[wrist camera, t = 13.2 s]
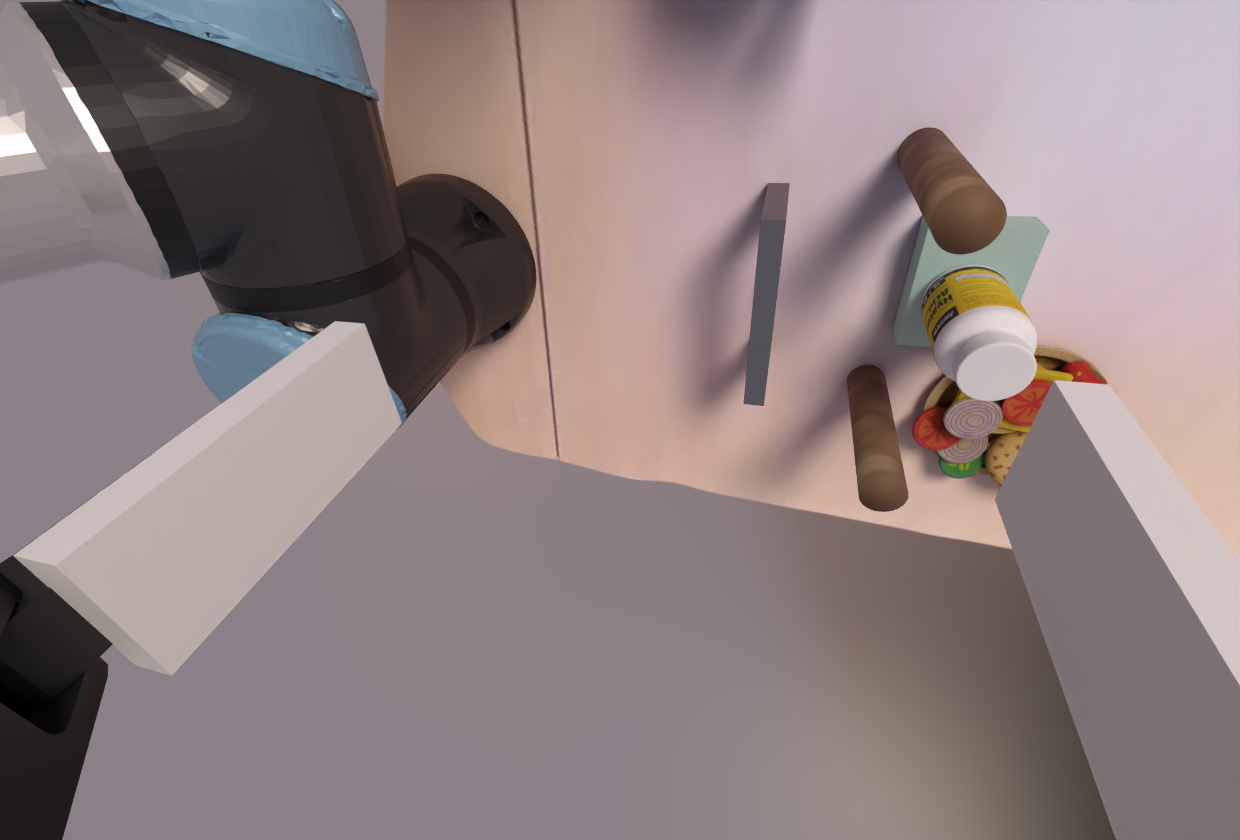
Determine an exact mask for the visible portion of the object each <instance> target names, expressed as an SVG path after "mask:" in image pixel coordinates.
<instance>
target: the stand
mask: <svg viewBox="0 0 1240 840" xmlns="http://www.w3.org/2000/svg"><path fill="white" fill-rule="evenodd" d="M1048 232H1049V229H1048V228H1047V227H1046V226H1045V225H1044V224H1043V223H1042V222H1041V220H1040V219H1039V218H1038V217H1006V222H1005V225H1004V228H1003V230H1002V231H1001V233H1000V234H999V236H998V237H997V238H996V239H995V240H994V241H993V242H992V243H991V244H989V245H988V246H987V247H985V248H983V249H981V250H979V251H977V252H974V253H970V254H964V255H958V254H952V253H948V252H946V251H944V250H943V249H941V248H940V247H939V246H938V245H937V243H936V242H935V240H934V238H933V236H932V233H931V231H930V229H929V227H928V225H927V223H926V221H925V219H924V217H922V220H921V224H920V228H919V232H918V235H917V239H916V243H915V247H914V250H913V254H912V258H911V262H910V265H909V269H908V273H907V277H906V280H905V284H904V288H903V292H902V295H901V299H900V303H899V307H898V310H897V314H896V318H895V322H894V325H893V334H894V338H895V342H896V345H904V346H918V347H931V344H930V341H929V338H928V334H927V331H926V328H925V325H924V321H923V318H922V314H921V300H922V297H923V294H924V292H925V290H926V289H927V287H928V286H929V285H930V283H931V282H932V281H933V280H934V279H935V278H936V277H938V276H939V275H941V274H942V273H944V272H945V271H947V270H950V269H952V268H955V267H958V266H962V265H970V264H979V265H985V266H988V267H991V268H993V269H995V270H996V271H998V272H999V273H1000V274H1002V276H1003V277H1004V278H1005V279H1006V280H1007V282H1008V284H1009V285H1010V287H1011V288H1012V290H1013V292H1014V293H1015V295H1016V297H1017V298H1018V300H1019V301H1021V299H1022V296H1023V294H1024V291H1025V289H1026V286H1027V284H1028V281H1029V279H1030V276H1031V274H1032V272H1033V269H1034V267H1035V264H1036V262H1037V259H1038V257H1039V254H1040V252H1041V250H1042V247H1043V245H1044V242H1045V240H1046V237H1047V235H1048Z"/></svg>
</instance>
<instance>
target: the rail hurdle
mask: <svg viewBox="0 0 1240 840" xmlns="http://www.w3.org/2000/svg"><path fill="white" fill-rule="evenodd" d="M788 194H789V183H768V185H767V191H766V196H765V201H764V206H763V211H762V216H761V222H760V233H759V244H758V255H757V265H756V276H755V287H754V298H753V308H752V319H751V330H750V341H749V351H748V362H747V373H746V384H745V394H744V404H750V405H760V406H764V399H765V391H766V382H767V374H768V366H769V358H770V349H771V341H772V333H773V324H774V316H775V308H776V299H777V291H778V283H779V274H780V266H781V258H782V249H783V241H784V233H785V224H786V215H787V204H788Z"/></svg>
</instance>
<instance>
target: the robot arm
mask: <svg viewBox="0 0 1240 840" xmlns="http://www.w3.org/2000/svg"><path fill="white" fill-rule="evenodd" d="M378 100H379V98H378V94H377V92H376V90H375V89H374V88H373V87H372V85H371V82H370V79H369V76H368V73H367V69H366V66H365V62H364V59H363V55H362V52H361V49H360V45H359V42H358V38H357V35H356V31H355V29H354V26H353V24H352V22H351V20H350V19H349V17H348V15H347V14H346V13H345V11H344V10H343V9H342V8H341V7H340V6H339V5H338V4H337V3H336V2H334V1H333V0H62V1H58V2H21V3H19V2H12V3H7V4H6V6H5V8H4V10H3V12H2V14H1V16H0V285H1V284H5V283H9V282H13V281H18V280H22V279H27V278H30V277H35V276H39V275H44V274H48V273H52V272H57V271H61V270H65V269H69V268H74V267H78V266H83V265H86V264H91V263H95V262H100V261H106V262H115V263H119V264H122V265H124V266H127V267H129V268H132V269H134V270H137V271H139V272H142V273H145V274H147V275H149V276H152V277H154V278H157V279H159V280H167V279H172V278H177V277H181V276H184V275H188V274H192V273H196V272H200V274H201V275H202V277H203V279H204V281H205V283H206V285H207V287H208V289H209V291H210V293H211V295H212V297H213V299H214V301H215V303H216V305H217V307H218V310H219V314H217V315H214V316H212V317H210V318H208V319H207V320H206V321H204V322H203V323H202V326H201V329H199V331H198V332H196V334H195V336H194V344H193V346H192V357H193V361H194V364H195V366H196V368H197V371H198V373H199V375H200V376H201V378H202V379H203V381H204V383H205V384H206V385H207V387H208V388H209V389H210V391H211V392H212V393H213V394H214V395H215V397H216V398H217V399H218V400H219V401H220V402H221V403H222V404H221V405H219V406H218V407H217V408H215V409H214V410H212V411H211V412H210V413H208V414H207V415H206V416H204V417H203V418H201V419H200V420H199V421H197V422H196V423H195V424H193V425H192V426H191V427H189V428H188V429H186V430H185V431H184V432H182V433H181V434H179V435H178V436H177V437H175V438H174V439H173V440H171V441H170V442H169V443H167V444H166V445H164V446H163V447H162V448H160V449H159V450H158V451H156V452H155V453H153V454H151V455H150V456H149V457H147V458H146V459H145V460H143V461H142V462H140V463H139V464H138V465H136V466H135V467H133V468H132V469H131V470H129V471H128V472H127V473H126V474H124V475H123V476H122V477H120V478H118V479H117V480H116V481H115V482H113V483H112V484H110V485H109V486H107V487H106V488H105V489H103V491H101V492H100V493H99V494H96V495H95V496H94V497H92V498H91V499H89V500H88V501H87V502H85V503H84V504H83V505H81V506H80V507H79V508H77V509H76V510H74V511H73V512H72V513H70V514H69V515H67V516H66V517H65V518H63V519H62V520H61V521H59V522H58V523H56V524H55V525H54V526H52V527H51V528H50V529H48V530H47V531H45V532H44V533H43V534H41V535H40V536H39V537H37V538H36V539H34V540H33V541H32V542H31V543H29V544H28V545H26V546H25V547H23V548H22V549H21V550H19V551H18V552H17V553H15V554H14V555H13V556H11V557H9V558H8V559H6V560H5V561H3V562H2V563H0V840H62V838H63V835H64V831H65V828H66V824H67V820H68V817H69V813H70V810H71V806H72V802H73V798H74V795H75V792H76V788H77V785H78V781H79V777H80V774H81V770H82V767H83V763H84V760H85V756H86V752H87V749H88V745H89V741H90V738H91V735H92V731H93V727H94V724H95V720H96V716H97V713H98V709H99V706H100V702H101V699H102V695H103V692H104V688H105V684H106V681H107V677H108V664H107V663H106V662H105V661H104V660H103V659H102V658H101V657H100V656H101V655H102V654H103V653H104V652H105V651H106V650H107V649H108V648H109V647H110V646H111V645H113V646H114V647H116V648H117V649H118V650H119V651H120V652H121V653H123V655H124V656H126V657H127V658H128V659H129V660H130V661H131V662H132V663H133V664H135V665H137V666H140V667H144V668H147V669H151V670H154V671H158V672H161V673H165V674H168V675H173V674H174V673H175V671H176V670H177V669H178V668H179V667H180V666H181V665H182V664H183V663H184V662H185V660H186V659H187V658H188V657H189V656H190V655H191V653H192V652H194V650H195V649H196V648H197V647H198V646H199V645H200V644H201V643H202V642H203V641H204V639H206V637H207V636H208V635H209V634H210V633H211V632H212V631H213V630H214V628H216V626H217V625H218V624H219V623H220V622H221V621H222V620H223V619H224V618H225V617H226V615H227V614H228V613H229V612H230V611H231V610H232V609H233V608H234V607H235V606H236V604H237V603H238V602H239V601H240V600H241V599H242V598H243V597H244V596H245V594H247V592H248V591H249V590H250V589H251V588H252V587H253V586H254V585H255V583H257V581H258V580H259V579H260V578H261V577H262V576H263V574H265V573H266V572H267V570H268V569H269V568H270V567H271V566H272V565H273V564H274V563H275V562H276V561H277V559H278V558H279V557H280V556H281V555H282V554H283V553H284V552H285V551H286V549H288V547H289V546H290V545H291V544H292V543H293V542H294V541H295V540H296V539H297V537H298V536H299V535H300V534H301V533H302V532H303V531H304V530H305V529H306V528H307V527H308V525H309V524H310V523H311V522H312V521H313V520H314V519H315V517H317V516H318V515H319V513H320V512H321V511H322V510H323V509H324V508H325V507H326V506H327V505H328V503H329V502H330V501H331V500H332V499H333V498H334V497H335V496H336V495H337V494H338V493H339V491H340V490H341V489H342V488H343V487H344V486H345V485H346V484H347V483H348V482H349V480H350V479H351V478H352V477H353V476H354V475H355V474H356V473H357V472H358V471H359V469H360V468H361V467H362V466H363V465H364V464H365V463H366V462H367V461H368V460H369V459H370V457H371V456H372V455H373V454H374V453H375V452H376V451H377V450H378V449H379V447H380V446H381V445H382V444H383V443H384V442H385V441H386V440H387V439H388V438H389V436H391V434H392V433H393V432H394V431H395V430H397V429H398V428H399V427H401V426H402V425H403V423H404V422H405V421H406V419H407V418H408V417H409V415H410V414H411V413H412V412H413V411H414V410H415V409H416V407H417V406H418V405H419V404H420V403H421V401H422V400H423V399H424V398H425V397H426V396H427V395H428V394H429V392H430V391H431V390H432V389H433V388H434V387H435V386H436V384H437V383H438V382H439V381H440V380H441V379H442V378H443V376H444V375H445V374H446V373H447V372H448V371H449V370H450V368H451V367H452V366H453V365H454V364H455V363H456V362H457V360H458V359H459V358H460V357H461V356H462V355H463V354H464V353H465V352H468V351H471V350H473V349H476V348H478V347H481V346H484V345H486V344H489V343H492V342H494V341H496V340H498V339H500V338H502V337H504V336H505V335H506V334H508V333H509V332H510V331H511V330H512V329H513V328H514V327H515V326H516V325H517V324H518V323H519V321H520V320H521V319H522V318H523V317H524V315H525V314H526V313H527V311H528V309H529V307H530V305H531V303H532V301H533V297H534V294H535V288H536V268H535V262H534V257H533V254H532V250H531V247H530V245H529V242H528V240H527V238H526V236H525V234H524V232H523V230H522V228H521V227H520V225H519V224H518V222H517V221H516V219H515V218H514V217H513V215H512V214H511V213H510V212H509V211H508V209H507V208H506V207H505V206H504V205H503V204H502V203H501V202H500V201H499V200H497V199H496V198H495V197H494V196H493V195H491V194H490V193H489V192H487V191H486V190H484V189H483V188H481V187H480V186H478V185H476V184H474V183H472V182H470V181H468V180H465V179H462V178H459V177H456V176H452V175H446V174H427V175H422V176H418V177H415V178H413V179H411V180H409V181H407V182H405V183H403V184H401V185H399V186H397V187H396V183H395V179H394V174H393V170H392V166H391V162H390V157H389V153H388V149H387V144H386V140H385V136H384V132H383V127H382V123H381V119H380V115H379V110H378V106H377V102H376V101H378ZM995 501H996V504H997V507H998V509H999V512H1000V515H1001V518H1002V521H1003V523H1004V526H1005V529H1006V532H1007V535H1008V537H1009V540H1010V543H1011V546H1012V549H1013V551H1014V554H1015V557H1016V560H1017V563H1018V565H1019V568H1020V571H1021V574H1022V577H1023V580H1024V582H1025V585H1026V588H1027V591H1028V594H1029V596H1030V599H1031V602H1032V605H1033V608H1034V610H1035V613H1036V616H1037V619H1038V621H1039V624H1040V627H1041V630H1042V633H1043V636H1044V638H1045V641H1046V644H1047V647H1048V650H1049V652H1050V655H1051V658H1052V661H1053V664H1054V667H1055V669H1056V672H1057V675H1058V678H1059V681H1060V683H1061V686H1062V689H1063V692H1064V694H1065V697H1066V700H1067V703H1068V706H1069V709H1070V711H1071V714H1072V717H1073V720H1074V722H1075V725H1076V728H1077V731H1078V734H1079V737H1080V739H1081V742H1082V745H1083V748H1084V751H1085V753H1086V756H1087V759H1088V762H1089V764H1090V767H1091V770H1092V773H1093V776H1094V779H1095V781H1096V784H1097V787H1098V790H1099V792H1100V796H1101V798H1102V801H1103V804H1104V807H1105V809H1106V812H1107V815H1108V818H1109V821H1110V824H1111V826H1112V829H1113V832H1114V835H1115V838H1116V840H1240V562H1239V560H1238V559H1237V558H1236V556H1235V555H1234V554H1233V552H1232V551H1231V549H1230V548H1229V547H1228V545H1227V544H1226V543H1225V541H1224V540H1223V539H1222V537H1221V536H1220V535H1219V533H1218V532H1217V530H1216V529H1215V528H1214V526H1213V525H1212V524H1211V522H1210V521H1209V520H1208V518H1207V517H1206V516H1205V514H1204V513H1203V511H1202V510H1201V509H1200V507H1199V506H1198V505H1197V503H1196V502H1195V501H1194V499H1193V498H1192V497H1191V495H1190V494H1189V492H1188V491H1187V490H1186V488H1185V487H1184V486H1183V484H1182V483H1181V482H1180V480H1179V479H1178V478H1177V476H1176V475H1175V473H1174V472H1173V471H1172V469H1171V468H1170V467H1169V465H1168V464H1167V463H1166V461H1165V460H1164V459H1163V457H1162V456H1161V454H1160V453H1159V452H1158V450H1157V449H1156V448H1155V446H1154V445H1153V444H1152V442H1151V441H1150V440H1149V438H1148V437H1147V435H1146V434H1145V433H1144V431H1143V430H1142V429H1141V427H1140V426H1139V425H1138V423H1137V422H1136V420H1135V419H1134V418H1133V416H1132V415H1131V414H1130V412H1129V411H1128V410H1127V408H1126V407H1125V406H1124V404H1123V403H1122V401H1121V400H1120V399H1119V397H1118V396H1117V395H1116V393H1115V392H1114V391H1113V389H1112V388H1111V387H1110V385H1108V384H1095V383H1083V382H1071V381H1059V380H1054V381H1053V383H1052V385H1051V387H1050V389H1049V391H1048V393H1047V395H1046V397H1045V399H1044V401H1043V403H1042V405H1041V407H1040V409H1039V411H1038V413H1037V415H1036V417H1035V419H1034V422H1033V424H1032V426H1031V428H1030V430H1029V432H1028V434H1027V436H1026V438H1025V440H1024V442H1023V444H1022V446H1021V448H1020V450H1019V452H1018V454H1017V456H1016V458H1015V460H1014V462H1013V464H1012V466H1011V468H1010V470H1009V472H1008V474H1007V476H1006V478H1005V480H1004V482H1003V484H1002V486H1001V488H1000V490H999V492H998V494H997V496H996V498H995Z"/></svg>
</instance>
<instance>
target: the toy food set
mask: <svg viewBox="0 0 1240 840" xmlns="http://www.w3.org/2000/svg"><path fill="white" fill-rule="evenodd" d="M1034 357H1035V359H1036V363H1037V370H1036V374H1035V376H1034V378H1033V380H1032V381H1031V383H1030V384H1029V385H1028V386H1027V387H1026V388H1025V389H1024V390H1022V391H1021V392H1019V393H1018V394H1016V395H1014V396H1011V397H1009V398H1006V399H1002V400H997V401H981V400H976V399H973V398H971V397H969V396H967V395H965V394H964V393H963V392H962V391H961V390H960V389H959V387H958V386H957V384H956V381H953V380H952V379H950V378H948V377H947V376H945V377H943V378H942V379H941V380H940V381H939V383H938V384H937V385H936V386H935V387H934V388H933V390H932V391H931V393H930V394H929V396H928V398H927V400H926V402H925V404H924V407H923V411H922V414H920V415H919V416H918V417H917V419H916V420H915V422H914V425H913V430H912V431H913V437H914V439H915V440H916V442H917V443H918V444H919V445H921V446H922V447H924V448H926V449H929V450H932V451H933V452H934V453H935V454H936V455H938V456H939V457H940V458H939V465H940V468H941V469H942V471H943V472H944V473H945V474H946V475H948V476H950V477H953V478H966V477H969V476H972V475H973V474H975V473H979V474H988V475H990V476H991V477H992V478H993V480H994V481H995V482H996V483H998V484H999V485H1000V486H1002V484H1003V482H1004V480H1005V478H1006V476H1007V474H1008V472H1009V470H1010V468H1011V466H1012V464H1013V462H1014V460H1015V458H1016V456H1017V454H1018V452H1019V450H1020V448H1021V446H1022V444H1023V442H1024V440H1025V438H1026V436H1027V434H1028V432H1029V430H1030V428H1031V426H1032V424H1033V422H1034V419H1035V417H1036V415H1037V413H1038V411H1039V409H1040V407H1041V405H1042V403H1043V401H1044V399H1045V397H1046V395H1047V393H1048V391H1049V389H1050V387H1051V385H1052V383H1053V381H1054V380H1059V381H1071V382H1083V383H1095V384H1107V381H1106V379H1105V378H1104V376H1103V375H1102V373H1101V372H1100V371H1099V369H1098V368H1097V367H1096V366H1095V365H1094V364H1092V363H1091V362H1090V361H1088V360H1087V359H1085V358H1083V357H1082V356H1080V355H1078V354H1076V353H1073V352H1071V351H1068V350H1064V349H1061V348H1056V347H1050V346H1041V345H1037V347H1036V351H1035V353H1034Z"/></svg>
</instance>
